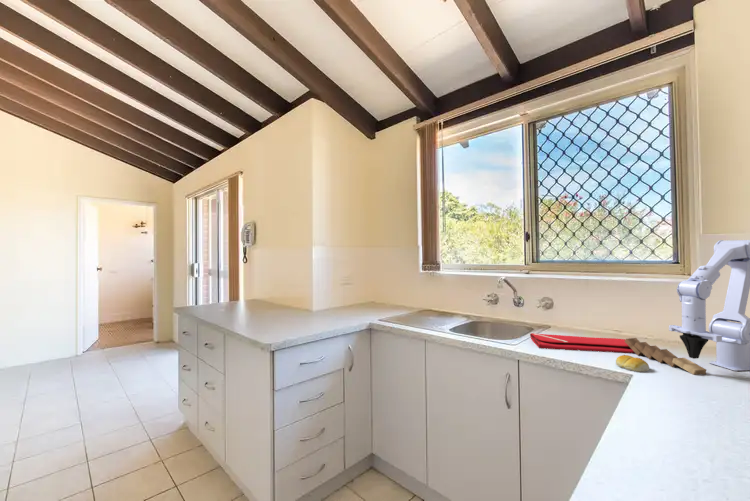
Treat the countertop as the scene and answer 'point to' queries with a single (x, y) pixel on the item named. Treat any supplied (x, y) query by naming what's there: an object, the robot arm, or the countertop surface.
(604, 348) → the dish drying mat
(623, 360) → the bread roll
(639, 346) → the domino
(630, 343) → the domino
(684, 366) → the domino
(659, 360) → the domino
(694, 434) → the countertop surface
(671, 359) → the domino
